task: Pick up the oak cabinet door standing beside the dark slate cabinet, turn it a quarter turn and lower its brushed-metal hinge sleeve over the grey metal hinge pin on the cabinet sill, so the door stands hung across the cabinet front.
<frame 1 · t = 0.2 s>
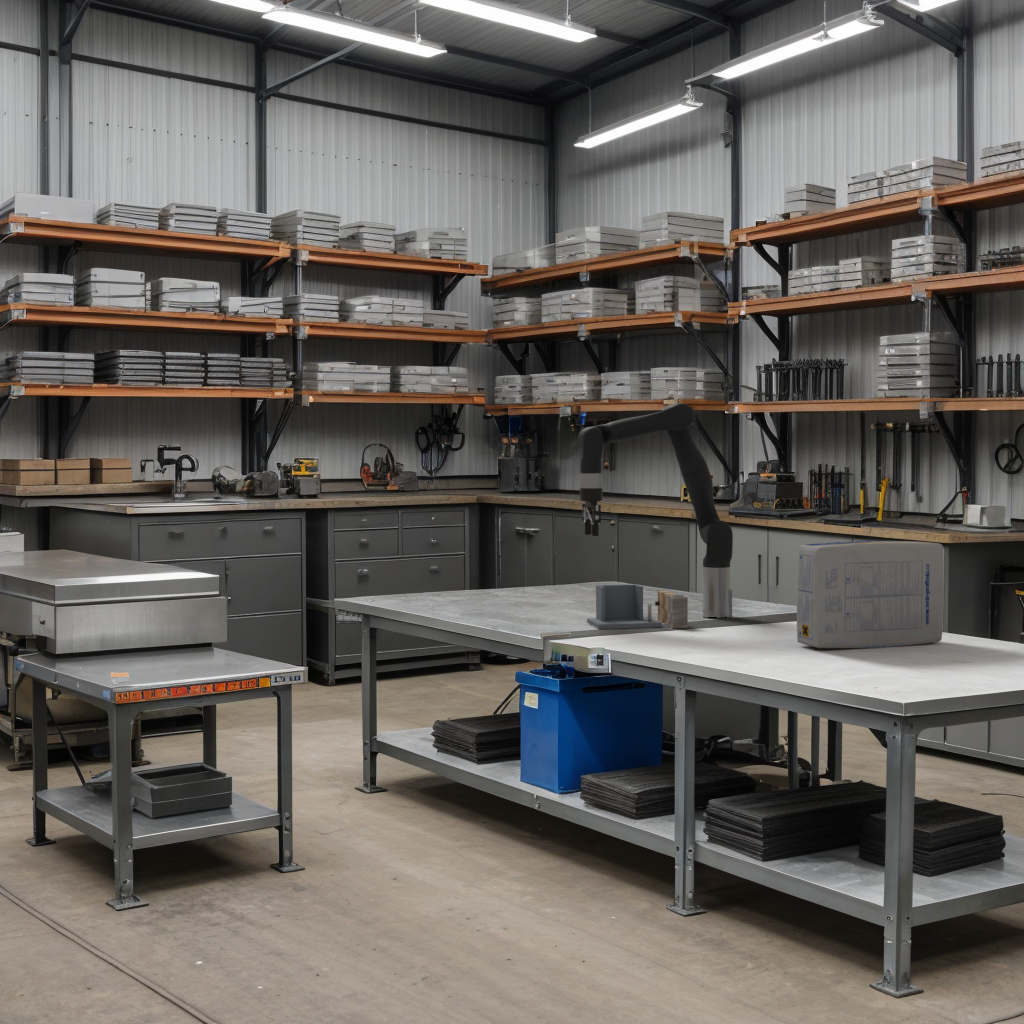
hand: (591, 535, 407), 29 cm above the table, fingers open, 8 cm apart
construction material bag: (869, 646, 352), on the table
cabinet: (620, 624, 399), on the table
door: (668, 623, 401), on the table
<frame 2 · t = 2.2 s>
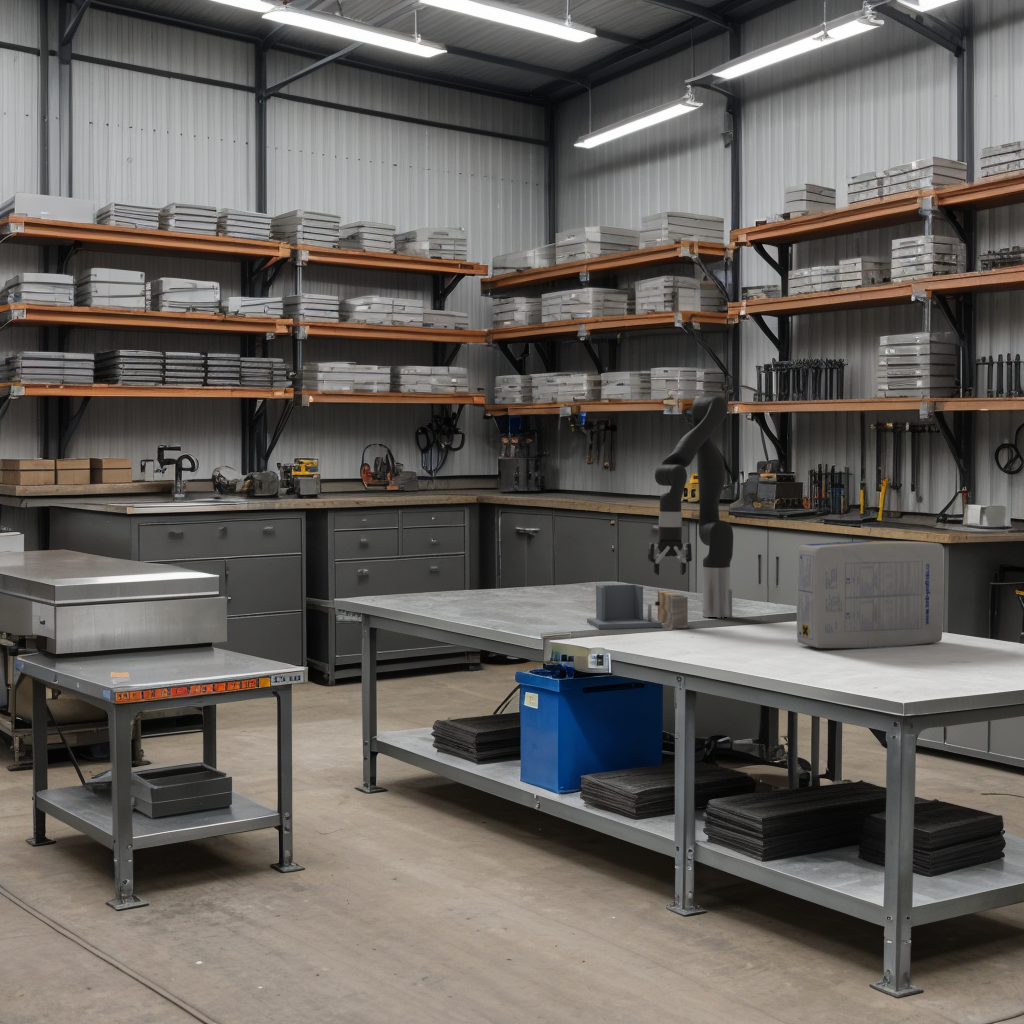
hand: (669, 574, 399), 16 cm above the table, fingers open, 8 cm apart
nothing on the table moved.
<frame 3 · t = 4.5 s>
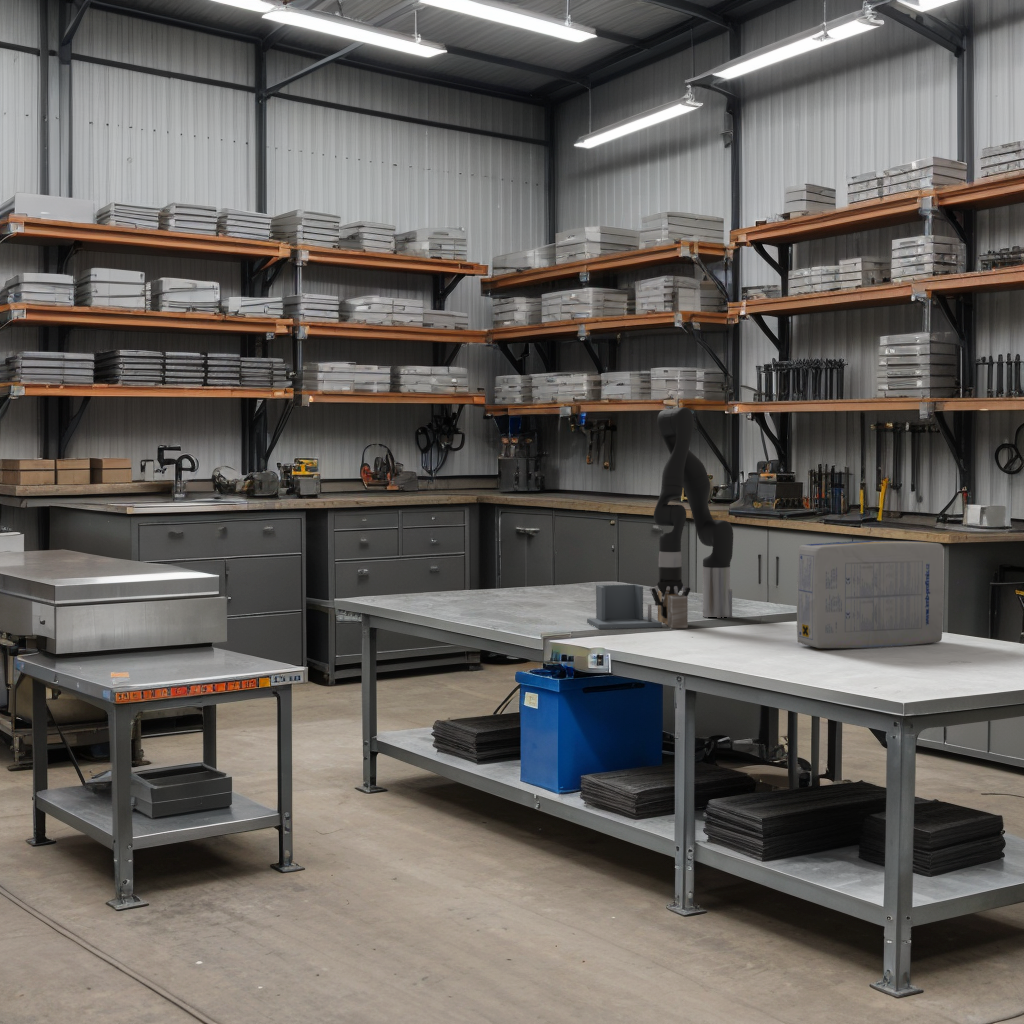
hand: (670, 617, 399), 2 cm above the table, fingers closed on door, 3 cm apart
door: (668, 623, 401), on the table, touching gripper
everything else where it was.
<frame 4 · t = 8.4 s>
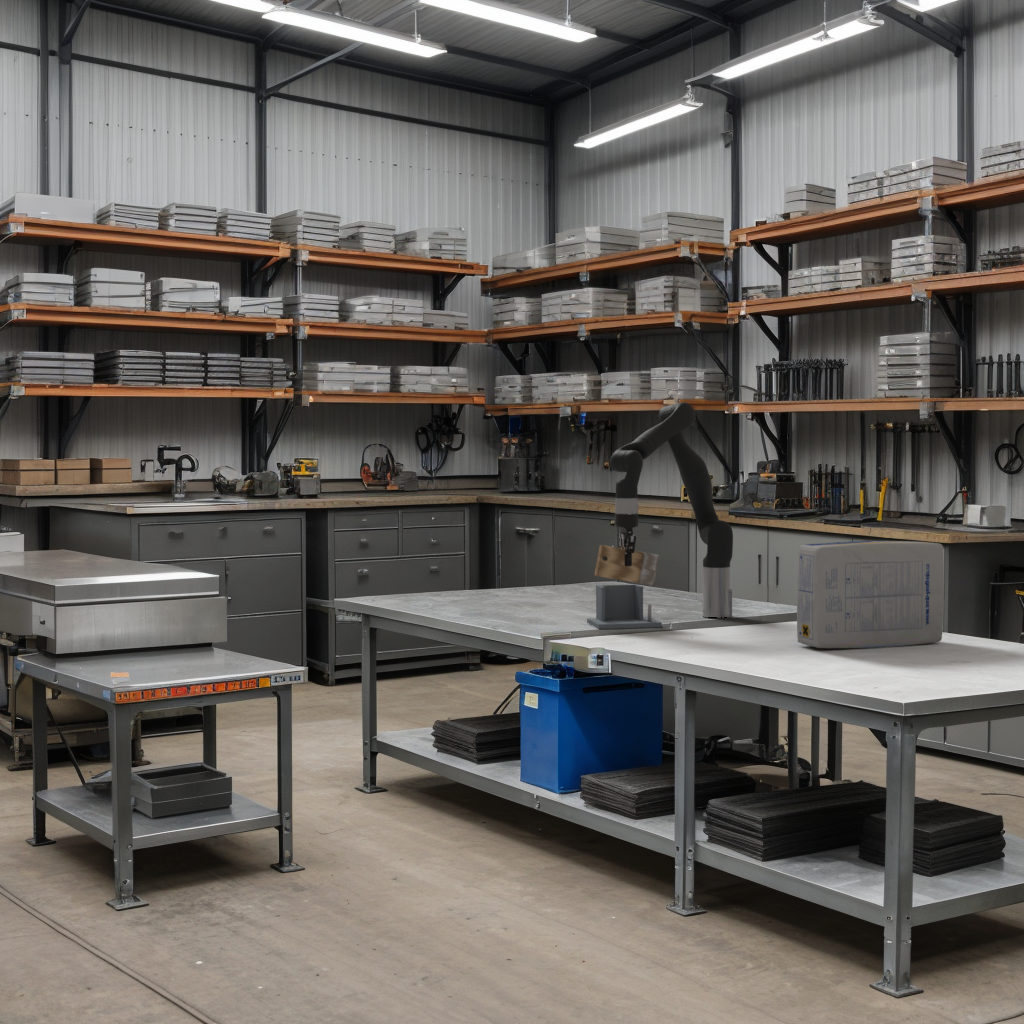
hand: (626, 565, 393), 20 cm above the table, fingers closed on door, 3 cm apart
door: (616, 579, 392), point 16 cm above the table, tilted 11°, touching gripper
everything else where it was.
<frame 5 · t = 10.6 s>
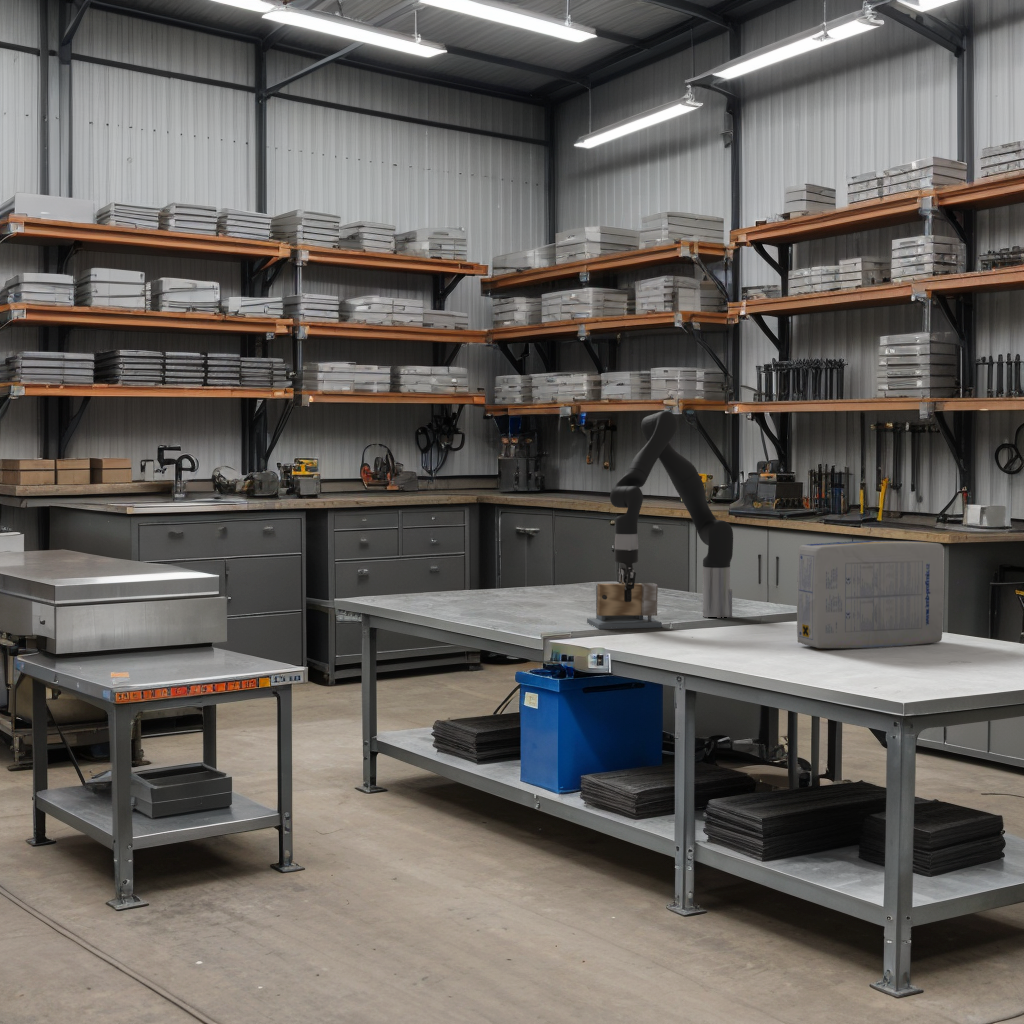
hand: (626, 600, 393), 8 cm above the table, fingers closed on door, 3 cm apart
door: (619, 614, 393), point 4 cm above the table, touching gripper
everything else where it was.
when the fingers open (6 cm above the table, at t = 12.1 s): door stays where it is, resting on cabinet.
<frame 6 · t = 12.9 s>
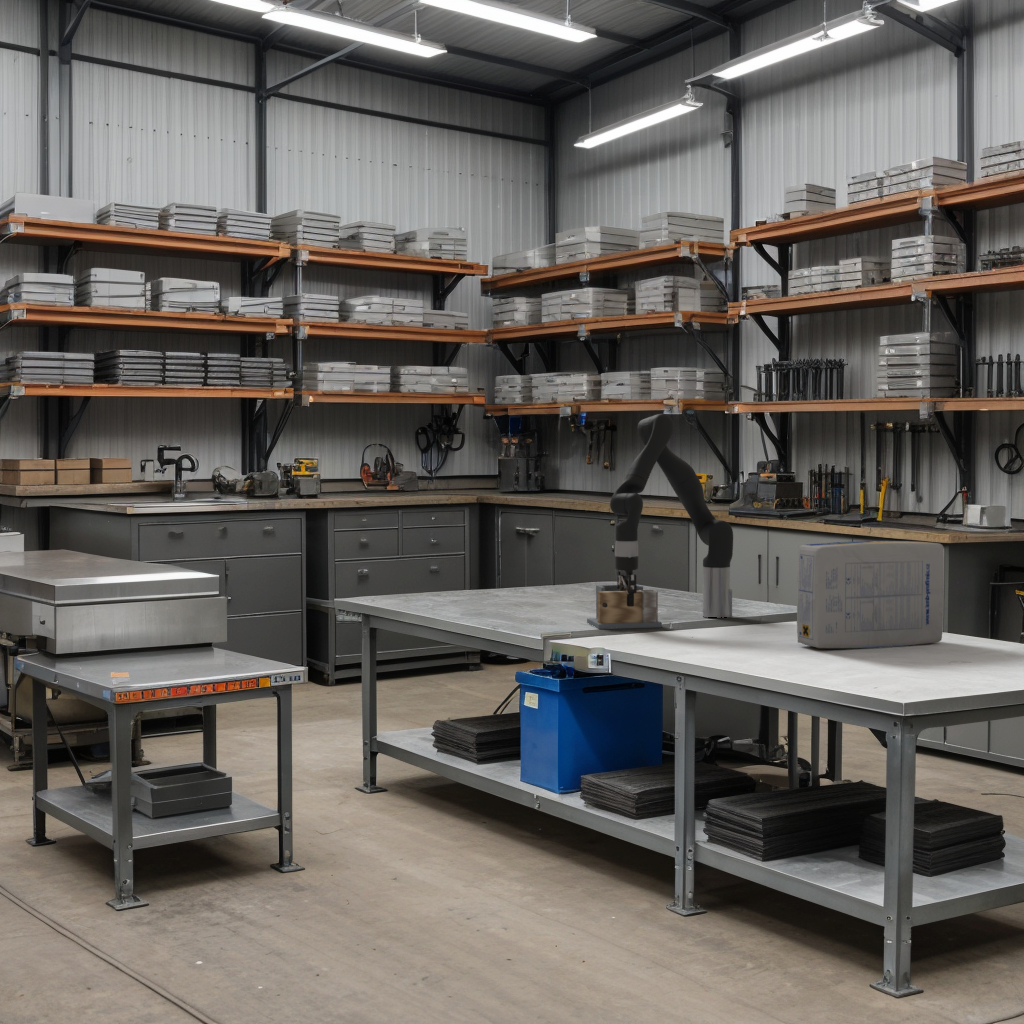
hand: (626, 604, 393), 7 cm above the table, fingers open, 8 cm apart
door: (619, 622, 393), point 1 cm above the table, touching cabinet
everything else where it was.
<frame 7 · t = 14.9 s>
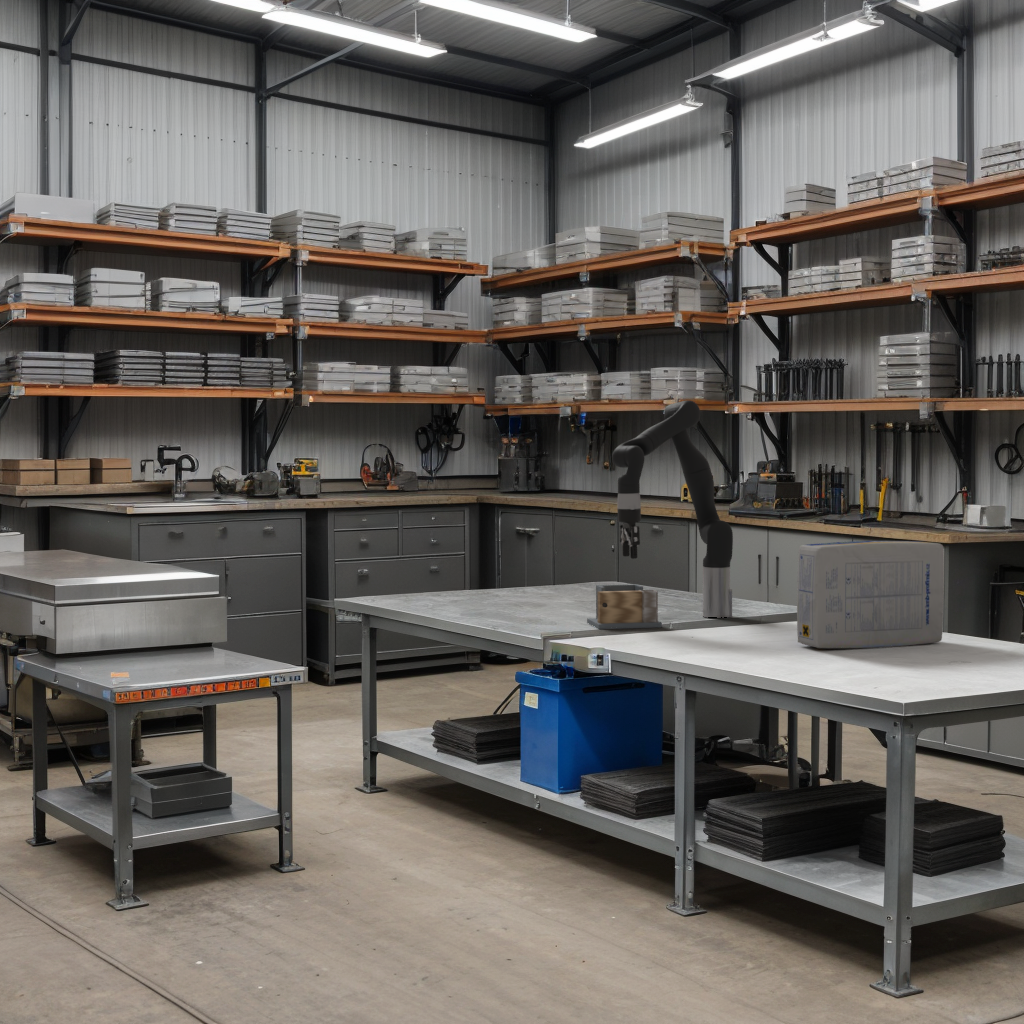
hand: (629, 557, 394), 22 cm above the table, fingers open, 8 cm apart
nothing on the table moved.
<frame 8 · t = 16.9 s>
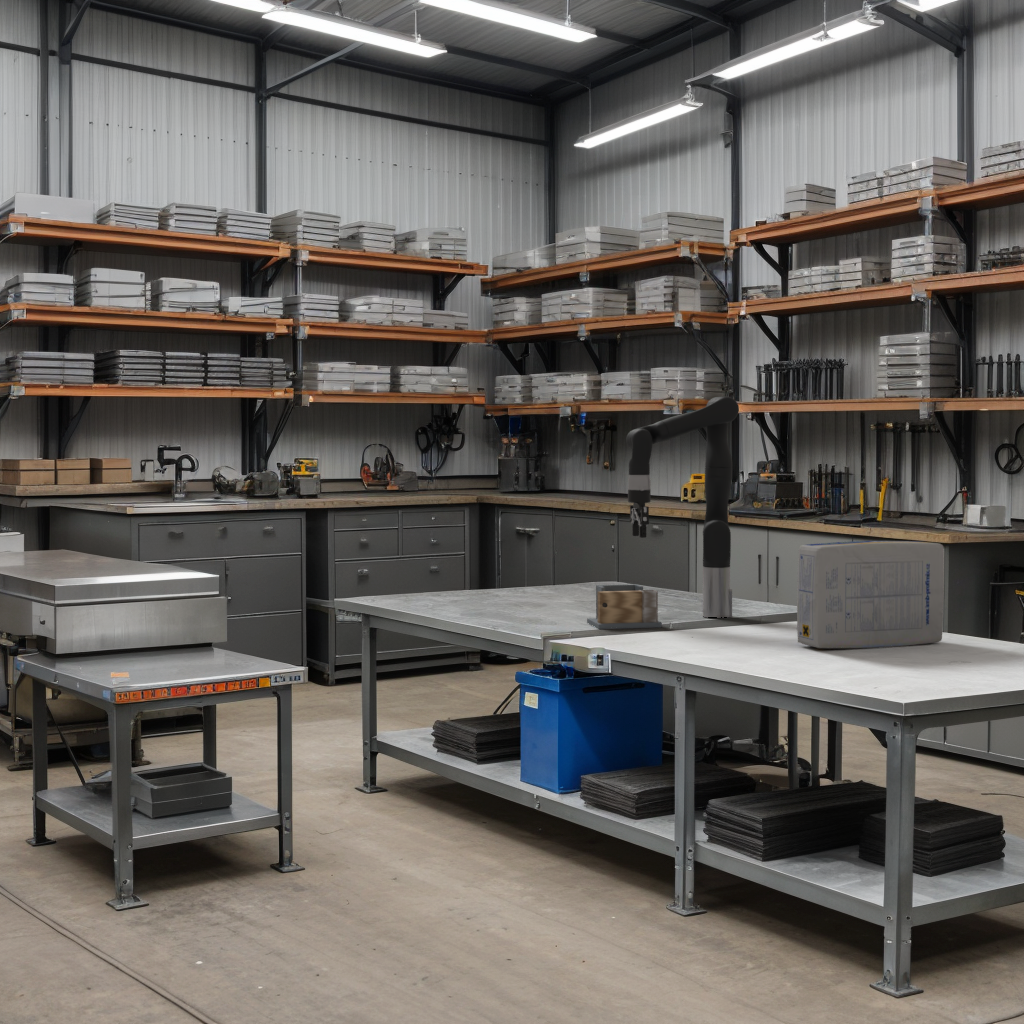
hand: (639, 536, 408), 28 cm above the table, fingers open, 8 cm apart
nothing on the table moved.
at the end: door 0.5 cm from the target spot on the cabinet, point 1.5 cm above the cabinet's base; door tilted 0°; the gripper is holding nothing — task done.
